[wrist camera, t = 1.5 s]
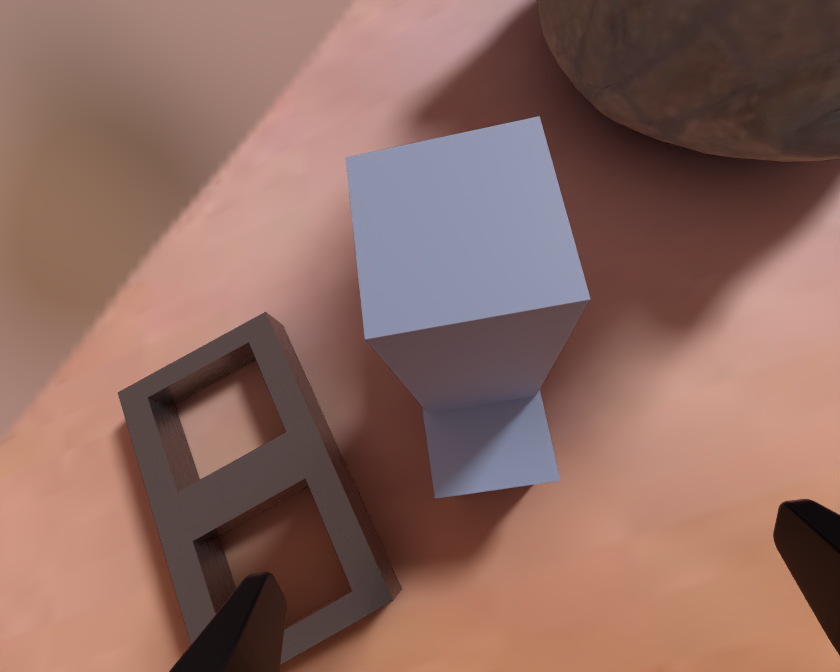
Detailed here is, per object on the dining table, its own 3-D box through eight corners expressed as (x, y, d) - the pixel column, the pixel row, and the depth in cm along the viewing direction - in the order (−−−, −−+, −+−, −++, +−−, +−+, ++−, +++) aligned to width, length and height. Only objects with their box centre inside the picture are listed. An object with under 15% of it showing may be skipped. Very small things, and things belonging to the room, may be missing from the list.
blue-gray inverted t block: (544, 480, 20) (654, 478, 7) (445, 495, 21) (371, 518, 7) (500, 275, 23) (518, 6, 10) (415, 291, 24) (325, 52, 11)
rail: (402, 589, 20) (392, 600, 18) (235, 683, 19) (208, 705, 18) (282, 325, 24) (265, 311, 22) (146, 399, 24) (117, 392, 22)
